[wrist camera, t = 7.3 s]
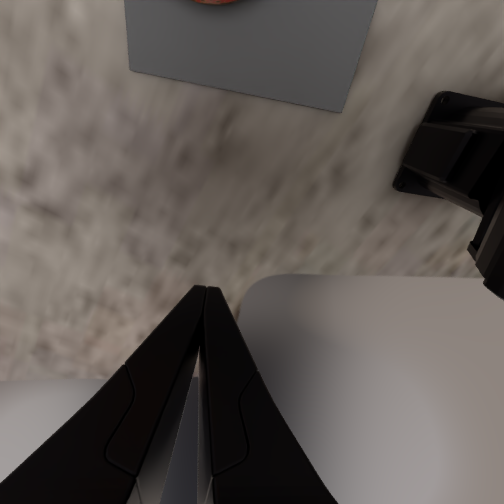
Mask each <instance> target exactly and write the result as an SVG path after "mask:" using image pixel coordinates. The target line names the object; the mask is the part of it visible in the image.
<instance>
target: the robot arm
mask: <svg viewBox="0 0 504 504" xmlns="http://www.w3.org/2000/svg"><path fill="white" fill-rule="evenodd" d="M443 97H445V100H444V102H443V103H442V104H441V100H442V98H443ZM401 182H403V184H402V185H401V186H400V187H399V184H400V183H401ZM393 188H394V189H395V190H397V191H399V192H405V193H411V194H417V195H424V196H430V197H436V198H442V199H447V200H449V201H451V202H453V203H455V204H457V205H459V206H461V207H463V208H465V209H467V210H469V211H471V212H473V213H474V214H476V215H478V216H480V217H482V220H481V223H480V225H479V227H478V230H477V232H476V234H475V237H474V239H473V241H471V242H470V243H469V246H468V248H467V250H468V252H469V253H470V255H471V256H472V257H473V259H474V260H475V262H476V264H475V265H476V267H477V268H478V270H479V271H480V273H481V274H482V276H483V277H484V278H485V279H484V281H483V284H484V286H485V287H487V289H489V290H490V291H491V292H493V293H494V294H495V295H496V296H498V297H499V298H500V299H502V300H504V104H503V103H499V102H495V101H490V100H486V99H482V98H477V97H473V96H468V95H464V94H460V93H455V92H451V91H442V92H440V93H438V94H437V95H436V96H435V98H434V100H433V102H432V104H431V106H430V108H429V110H428V112H427V114H426V116H425V118H424V120H423V122H422V124H421V126H420V127H419V129H418V131H417V133H416V135H415V137H414V139H413V142H412V144H411V146H410V148H409V150H408V152H407V154H406V156H405V158H404V160H403V164H402V166H401V168H400V170H399V172H398V174H397V176H396V178H395V181H394V183H393ZM199 347H200V350H199ZM198 353H199V404H198V405H199V406H198V504H338V503H337V501H336V500H335V499H334V498H333V496H332V495H331V493H330V492H329V491H328V489H327V488H326V486H325V485H324V483H323V482H322V480H321V479H320V477H319V475H318V474H317V472H316V471H315V469H314V467H313V466H312V464H311V462H310V461H309V459H308V458H307V456H306V454H305V453H304V451H303V449H302V448H301V446H300V445H299V443H298V441H297V440H296V438H295V436H294V435H293V433H292V432H291V430H290V429H289V427H288V425H287V423H286V422H285V420H284V418H283V416H282V415H281V413H280V411H279V410H278V408H277V406H276V404H275V403H274V401H273V399H272V397H271V395H270V393H269V391H268V389H267V387H266V385H265V383H264V381H263V379H262V377H261V374H260V372H259V371H258V368H257V366H256V364H255V362H254V360H253V358H252V355H251V353H250V351H249V349H248V347H247V345H246V343H245V341H244V338H243V336H242V334H241V332H240V330H239V328H238V325H237V323H236V321H235V319H234V317H233V315H232V313H231V310H230V308H229V306H228V304H227V302H226V300H225V298H224V296H223V293H222V291H221V289H220V288H219V287H213V286H208V287H206V286H203V285H194V286H193V287H192V288H191V289H190V290H189V291H188V292H187V294H186V295H185V296H184V297H183V298H182V299H181V300H180V301H179V302H178V304H177V305H176V306H175V307H174V308H173V309H172V310H171V311H170V313H169V314H168V315H167V316H166V317H165V318H164V319H163V320H162V321H161V323H160V324H159V325H158V326H157V327H156V328H155V329H154V330H153V331H152V333H151V334H150V335H149V336H148V337H147V338H146V339H145V340H144V341H143V343H142V344H141V345H140V346H139V347H138V348H137V349H136V350H135V351H134V353H133V354H132V355H131V356H130V357H129V358H128V359H127V360H126V361H125V365H124V364H123V365H122V366H121V367H120V368H119V369H118V370H117V371H116V372H115V374H114V375H113V376H112V377H111V378H110V379H109V380H108V381H107V382H106V383H105V384H104V385H103V386H102V387H101V389H100V390H99V391H98V392H97V393H96V394H95V395H94V396H93V397H92V398H91V399H90V400H89V401H88V402H87V403H86V404H85V405H84V406H83V407H81V409H79V410H78V411H77V412H76V413H75V414H74V415H73V416H72V417H71V418H70V419H69V420H68V421H67V422H66V423H65V424H64V425H63V426H62V427H60V428H59V429H58V430H57V431H56V432H55V433H54V434H53V435H52V436H51V437H50V438H49V439H47V440H46V441H45V442H44V443H43V444H42V445H41V446H40V447H39V448H38V449H37V450H36V451H34V452H33V453H32V454H31V455H30V456H29V457H28V458H27V459H26V460H25V461H24V462H23V463H22V464H20V466H18V467H17V468H16V469H15V470H14V471H13V472H12V473H11V474H10V475H9V476H8V477H6V479H4V480H3V481H2V482H1V483H0V504H159V503H160V499H161V495H162V491H163V488H164V484H165V480H166V476H167V472H168V468H169V465H170V461H171V457H172V453H173V449H174V446H175V442H176V438H177V434H178V430H179V427H180V423H181V419H182V415H183V411H184V407H185V403H186V400H187V396H188V392H189V388H190V384H191V381H192V377H193V373H194V369H195V365H196V362H197V357H198Z"/></svg>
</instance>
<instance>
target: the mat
mask: <svg viewBox="0 0 504 504" xmlns="http://www.w3.org/2000/svg"><path fill="white" fill-rule="evenodd" d="M377 1H378V0H238V1H236V2H233V3H230V4H225V5H207V4H202V3H198V2H194V1H191V0H124V4H125V17H126V30H127V42H128V55H129V67H130V70H131V71H136V72H141V73H146V74H151V75H156V76H161V77H166V78H171V79H176V80H181V81H186V82H191V83H196V84H201V85H206V86H211V87H216V88H220V89H225V90H230V91H235V92H240V93H245V94H250V95H255V96H260V97H265V98H270V99H275V100H280V101H285V102H290V103H295V104H300V105H305V106H310V107H315V108H320V109H325V110H330V111H334V112H339V113H342V111H343V108H344V105H345V101H346V98H347V95H348V92H349V89H350V86H351V83H352V80H353V76H354V73H355V70H356V67H357V64H358V61H359V58H360V54H361V51H362V48H363V45H364V42H365V39H366V36H367V33H368V29H369V26H370V23H371V20H372V17H373V14H374V11H375V7H376V4H377Z"/></svg>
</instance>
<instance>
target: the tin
mask: <svg viewBox="0 0 504 504" xmlns="http://www.w3.org/2000/svg"><path fill="white" fill-rule="evenodd" d="M191 1H194V2H198V3H202V4H207V5H225V4H230V3H233V2H236V1H238V0H191Z"/></svg>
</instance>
